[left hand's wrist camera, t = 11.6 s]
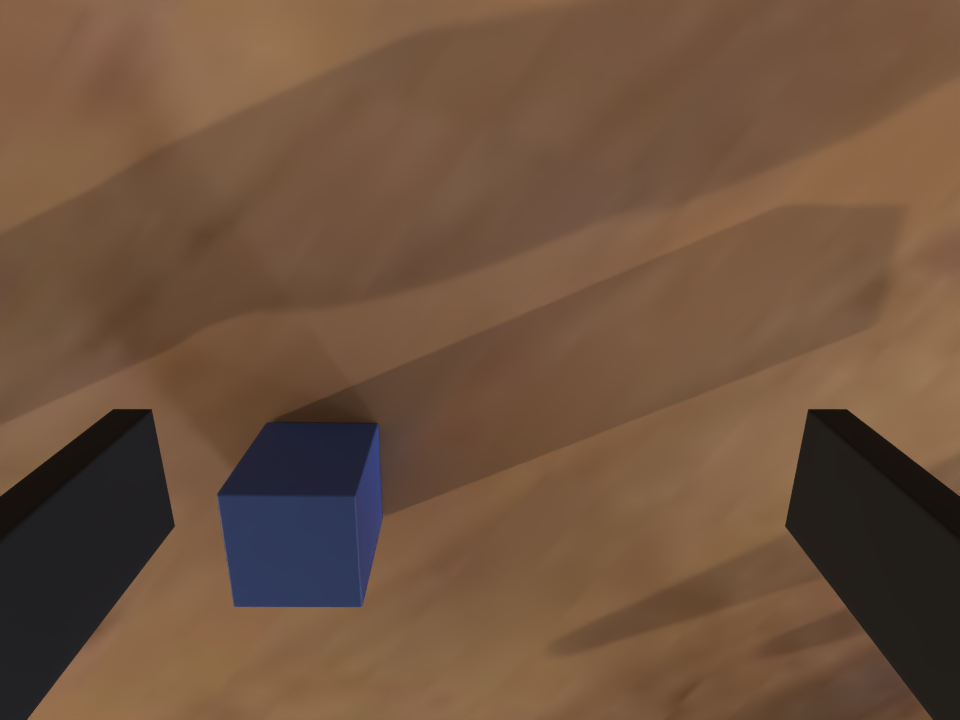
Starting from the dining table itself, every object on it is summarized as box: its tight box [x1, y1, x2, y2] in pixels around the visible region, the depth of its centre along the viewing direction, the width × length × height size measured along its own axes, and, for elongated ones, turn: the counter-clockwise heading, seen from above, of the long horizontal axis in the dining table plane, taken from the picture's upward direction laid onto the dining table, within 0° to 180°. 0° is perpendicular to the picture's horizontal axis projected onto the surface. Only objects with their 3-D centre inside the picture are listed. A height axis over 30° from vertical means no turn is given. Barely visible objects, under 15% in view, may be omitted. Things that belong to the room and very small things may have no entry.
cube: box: [217, 422, 383, 607], centre depth 22 cm, size 4×4×5 cm
